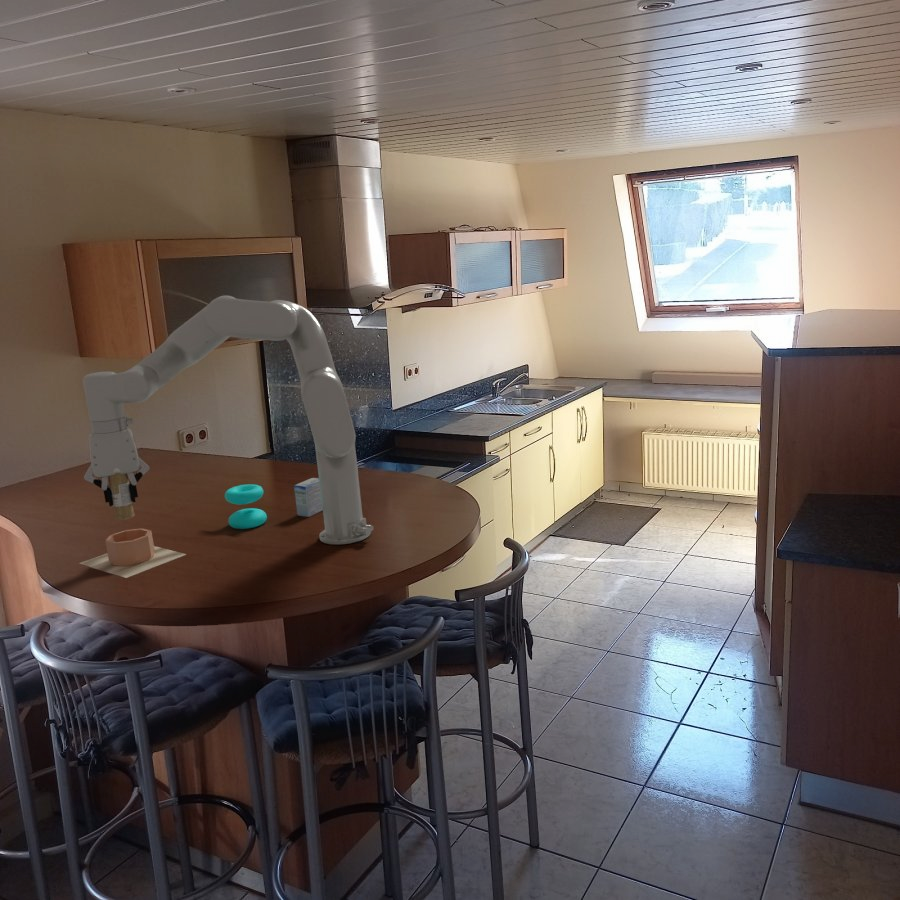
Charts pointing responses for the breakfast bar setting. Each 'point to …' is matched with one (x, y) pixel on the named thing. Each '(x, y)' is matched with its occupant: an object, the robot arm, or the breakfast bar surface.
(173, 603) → the breakfast bar surface
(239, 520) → the donuts
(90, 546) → the breakfast bar surface
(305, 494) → the medicine box
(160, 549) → the birch board
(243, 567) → the breakfast bar surface
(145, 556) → the terracotta octagonal bowl
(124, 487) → the spice jar
